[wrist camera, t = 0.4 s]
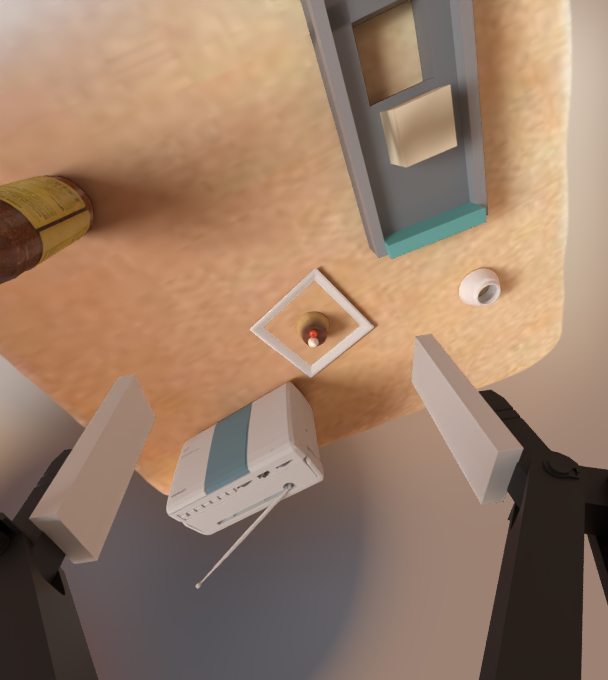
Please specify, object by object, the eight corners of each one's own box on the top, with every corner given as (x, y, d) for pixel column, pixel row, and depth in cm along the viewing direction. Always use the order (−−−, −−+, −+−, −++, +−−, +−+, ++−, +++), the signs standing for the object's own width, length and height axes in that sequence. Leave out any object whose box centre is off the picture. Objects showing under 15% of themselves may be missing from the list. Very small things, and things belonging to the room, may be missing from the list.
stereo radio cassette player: (288, 372, 49) (297, 499, 32) (318, 405, 53) (340, 534, 36) (182, 435, 53) (141, 574, 36) (217, 461, 57) (194, 597, 40)
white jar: (452, 301, 45) (486, 303, 45) (463, 311, 42) (498, 313, 43) (465, 266, 42) (501, 268, 43) (477, 274, 40) (515, 277, 40)
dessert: (314, 264, 41) (319, 278, 37) (372, 323, 46) (382, 341, 42) (249, 325, 44) (247, 344, 40) (310, 373, 50) (313, 395, 46)
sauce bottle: (20, 175, 33) (-247, 217, 16) (85, 172, 33) (-108, 210, 16) (49, 241, 36) (-145, 333, 19) (107, 238, 37) (-33, 326, 20)
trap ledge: (275, -92, 25) (275, -143, 20) (428, -177, 24) (467, -255, 19) (369, 247, 40) (382, 262, 35) (468, 207, 38) (496, 217, 33)
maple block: (379, 112, 30) (395, 109, 27) (427, 90, 30) (450, 84, 26) (390, 163, 33) (406, 167, 29) (435, 144, 32) (457, 145, 28)
